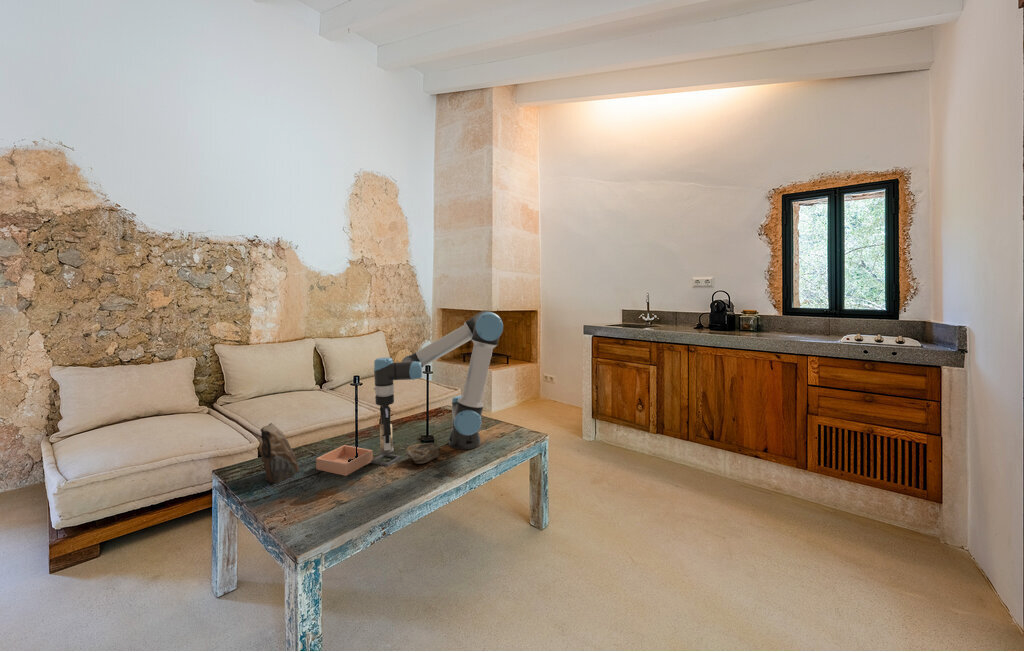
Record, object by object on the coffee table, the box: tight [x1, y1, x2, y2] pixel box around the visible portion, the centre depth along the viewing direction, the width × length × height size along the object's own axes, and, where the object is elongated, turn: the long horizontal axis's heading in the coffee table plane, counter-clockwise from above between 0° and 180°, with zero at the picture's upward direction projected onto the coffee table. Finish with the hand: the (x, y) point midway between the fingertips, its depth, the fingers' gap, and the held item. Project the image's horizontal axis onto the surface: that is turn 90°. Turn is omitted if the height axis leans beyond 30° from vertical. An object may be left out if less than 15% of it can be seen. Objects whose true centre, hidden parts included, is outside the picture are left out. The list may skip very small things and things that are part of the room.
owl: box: [259, 422, 301, 484], centre depth 164 cm, size 13×13×20 cm
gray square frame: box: [370, 453, 402, 467], centre depth 180 cm, size 9×9×1 cm
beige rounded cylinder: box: [379, 423, 395, 455], centre depth 179 cm, size 6×6×12 cm
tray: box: [315, 444, 374, 477], centre depth 175 cm, size 16×16×5 cm
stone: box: [405, 442, 440, 465], centre depth 180 cm, size 14×10×10 cm
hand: (386, 447), depth 179 cm, fingers closed on beige rounded cylinder, 5 cm apart
